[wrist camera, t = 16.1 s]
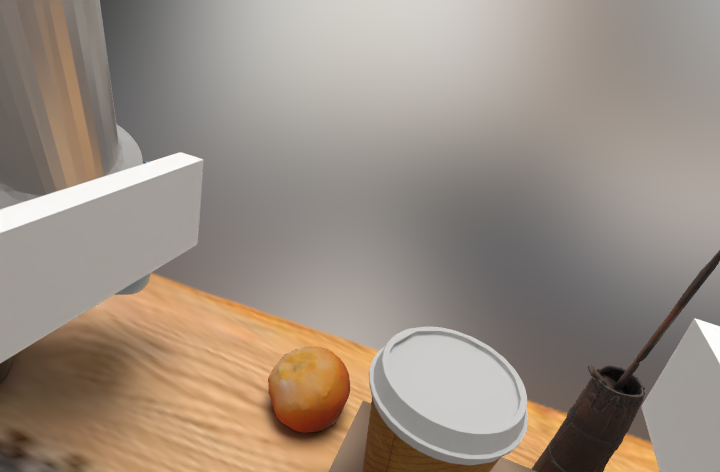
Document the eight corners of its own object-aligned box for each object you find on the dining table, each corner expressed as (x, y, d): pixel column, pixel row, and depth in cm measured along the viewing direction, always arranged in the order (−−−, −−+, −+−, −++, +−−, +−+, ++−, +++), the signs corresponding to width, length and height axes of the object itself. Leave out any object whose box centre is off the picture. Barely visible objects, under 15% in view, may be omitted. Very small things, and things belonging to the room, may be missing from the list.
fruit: (372, 428, 48) (345, 376, 44) (298, 463, 48) (263, 414, 44) (352, 371, 55) (327, 321, 51) (286, 401, 55) (256, 353, 50)
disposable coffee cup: (436, 439, 40) (484, 320, 34) (496, 563, 32) (570, 433, 26) (321, 452, 36) (354, 322, 31) (357, 592, 28) (409, 451, 23)
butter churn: (489, 501, 45) (618, 229, 33) (506, 433, 53) (615, 194, 41) (592, 556, 42) (773, 280, 31) (594, 476, 50) (739, 233, 39)
